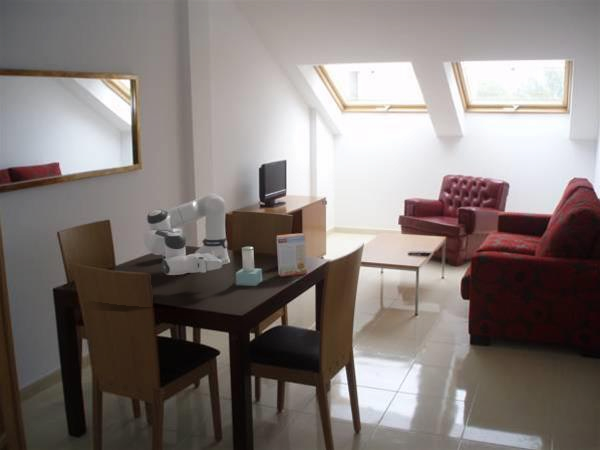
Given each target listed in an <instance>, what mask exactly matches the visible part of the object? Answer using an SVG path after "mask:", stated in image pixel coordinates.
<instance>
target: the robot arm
mask: <svg viewBox="0 0 600 450" xmlns="http://www.w3.org/2000/svg"><path fill="white" fill-rule="evenodd" d="M226 206H227V205H226V201H225V200H224V198H223V197H221V196H220V195H219V194H217V193H214V192H210V193H207V194H205V195H204V194H203V195H202V196H199V197H198V198H196V199H194V200H190V201H189V202H185V203H183V204H181V205H178V206H175V207H172V208H170V209H168V210H164V209H160V208H159V209H154V210H152V211H150V212H149V213H148V214H147V216H146V219H147V220H146V221H147V223H148V227H149V229H148V230H146V231H144V232H143V234H142V235H141V242H142V243H143V245H144V247H145V249H146V250H148V251H149V252H150V253H151V254H153V255H155V256H161V255H162V254H164V253H165V255H166V256H165V257H166V258H165V259H162V261H161V268H162V270H163V273H164V274H165V275H167V276H176V275H177V276H178V275H184V274H187V273H190V274H193V273H203V274H205V273H206V272H208V271H209V272H210V271H215V270H219V269H221V268H222V267H223V265H227V264H230V262H231V260H230V256H229V252H228V239H227V238H228V237H227V235H226V208H227V207H226ZM204 217H205V223H204V227H205V238H204V239H203V240H202V241H201V243H203V245H202V246H201V247H200V248H198V249H197V250H196V251H195V252H194V253H190V254H187V253H186V252H187V251H186V241H187V237H186V236H185V235H184V234H183V233H182V234H181V233H175V232H173V229H178V228H180V227H184V226H186V225H189V224H191V223H192V224H193V223H195V222H197V221H199V220H200V219H203V218H204ZM186 254H187V255H186ZM162 256H163V255H162Z"/></svg>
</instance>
